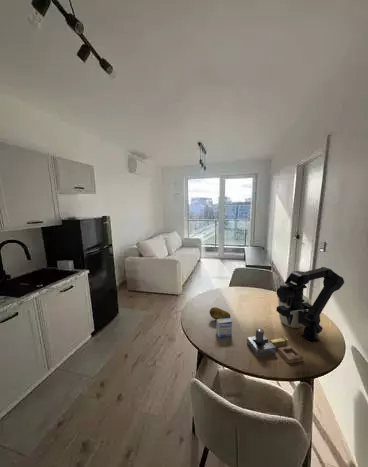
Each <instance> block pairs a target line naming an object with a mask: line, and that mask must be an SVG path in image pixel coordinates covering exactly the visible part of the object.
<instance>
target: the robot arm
mask: <svg viewBox="0 0 368 467" xmlns="http://www.w3.org/2000/svg"><path fill="white" fill-rule="evenodd" d="M321 278H323V280H322V284H323V287H322V289H321V291H320V292H319V293H318V295H317V297H316V299H315V300H314V302H313V304H311V303H310V304H309V303H307V302H306V303H302V302H304V300H303V295H304V290H305V289H308V286H307V285H309V282H310V281H313V280H318V279H321ZM344 284H345V280H344V278H343V277H342V276H340V275H339V274H337V273H336V272H335V271H334V270H332V269H331V268H329V267H325V266H321V267H319V268H315V269H311V270H306V271H301V270H294V271H291V272H290V274H289V275H288V277H287V279H286V280H285V281H284V284H283V285H280V286H279V287H278V288H277V289H276V296H278V298H279V300H280V302H282V303H285V304H287V306H289V308H286V307H285V306H284V305H283V306H279V305H278V306H276V310H275V311H276V312H277V313H278V314H279V313H280V314H281V315H282V316H286V319H287V322H288V324H289V325H291V322H292V319H293V315H292V314H291V313H292V312H293V311H298V323H299V324H300V323H302V325H303V326H304V328H303V334H301V335H300V336H301V337H302V338H304V339H305V340H306V341H307V342H308V341H309V342H308V343H310V342H312V343H316V341H318V342H320V341H321V340H320V338H319V337H318V336H319V334H321V332H322V331H323V329H324V328H323V327H322V326H321V325H320V322H321V314H322V312H323V310H324V309H325V307H326V306H327V304H328V302H329V300H330V299H331V297H332V295H333V293H335V292H336V291H339V290H340V289H341V288H342V287H343V285H344ZM278 298H277V299H278ZM307 309H308V310H307Z"/></svg>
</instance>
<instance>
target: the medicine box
mask: <svg viewBox="0 0 368 467" xmlns="http://www.w3.org/2000/svg"><path fill="white" fill-rule="evenodd" d="M215 321H216V323H215V324H216V327H215V329H216V330H215V333H216V335H217V337H218V338H224V337H230V336H232V334H233V321H232V320H231V317H230V318H225V319H217V320H215Z"/></svg>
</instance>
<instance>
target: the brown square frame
mask: <svg viewBox="0 0 368 467" xmlns="http://www.w3.org/2000/svg"><path fill="white" fill-rule="evenodd" d="M277 352H278V354H279V355H280V356H281V357H282V359H284V360H285V362H286V363H287V364H293V363H297V362H303V361H304V355H302V354H301V353H300V352H299V351H298V350H297V349H296V348H295V347H294V346H293V345H288V346H280V347H277Z"/></svg>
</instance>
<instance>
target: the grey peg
mask: <svg viewBox="0 0 368 467" xmlns="http://www.w3.org/2000/svg"><path fill="white" fill-rule="evenodd" d="M264 333H265V332H264V330H263V328H259V327H258V328H257V329H256V330H255V336H256V343H255V344H256V345H257V346H263V335H265V334H264Z"/></svg>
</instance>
